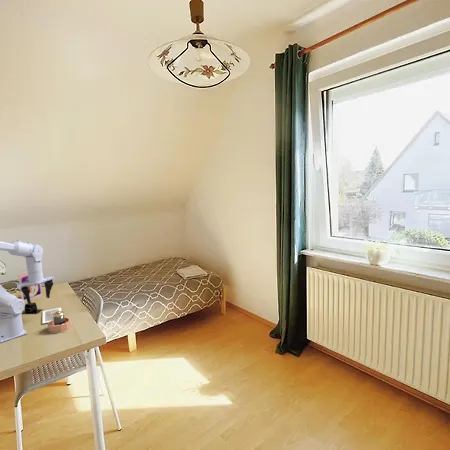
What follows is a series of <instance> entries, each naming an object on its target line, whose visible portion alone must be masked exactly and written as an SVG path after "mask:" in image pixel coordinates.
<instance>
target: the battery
mask: <svg viewBox="0 0 450 450" xmlns="http://www.w3.org/2000/svg"><path fill="white" fill-rule="evenodd" d="M53 317H54V325H61V324H64V323H65V319H64V317H65V311H63V310H61V311H57V312H55V313H54V314H53Z"/></svg>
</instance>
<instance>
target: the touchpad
mask: <svg viewBox="0 0 450 450" xmlns="http://www.w3.org/2000/svg"><path fill="white" fill-rule="evenodd" d="M57 311H62V307H56V308H52V309H47V310H42V324H48V323H49V322H50V321H51V320H53V319H54V317H53V314H54V313H55V312H57Z"/></svg>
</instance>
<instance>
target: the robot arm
mask: <svg viewBox="0 0 450 450" xmlns="http://www.w3.org/2000/svg"><path fill="white" fill-rule="evenodd" d="M0 251H4V252H8V254H9V255H12V256H20V257H22V258H23V257H24V258H25V263H26V270H27V272H28V280H29V281H26V282H23V283H20V284H19V283H17V284H16V288H17V290H21V291H22V292H23V294H24V295H25V297H26V299H27V302H25V303H32V302H31V300H30V296H29V289H28V287H29V286H33V285H37V284H41V285H42V284H44V288H45V297H46V299H49V298H50V296H51V295H50V294H51V291H52V288H53V286H54V282H55V281H56V280H55V276H54V275H50V276H45V277H44V271H43V264H42V263H43V262H42V260H43V254H44V249H43V247H42V246H41V245H39V244H34V243H33V244H32V242H27V241H26V242H22V240H19V239H16V240H13V241H12V242H5V241H0ZM21 291H20V292H21ZM25 303H24V301H23V300H22V299H21V298H18V297H17V296H16V295H13V294H12V293H9V292H8V291H7V290H6V289H5V288H4V287H3V286H2V285H1V284H0V343H4V342H6V341H7V342H8V341H9V340H13V339H15V338H18V337H21V336H24V335H27V334H28V332H27V331H26V330H25V329H24V324H23V317H22V315H23V314H21V313H22V311H24V310H25V308H24V307H25Z"/></svg>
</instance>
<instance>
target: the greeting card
mask: <svg viewBox="0 0 450 450" xmlns="http://www.w3.org/2000/svg"><path fill="white" fill-rule="evenodd" d="M26 281H29V280H28V272H27V269H26V270H25V271H23V272H21V273H20V274H18V282H19V283H18V284H20V283H23V282H26ZM28 289H29V296H30V301H32V300H34V299H38V298H40V297H42V296H44V295H43V293H44V292H43V286H42V284H37V285H33V286H29V287H28ZM19 290H20V289H19ZM20 297H21V298H20V299H22V300H23V301H24V303H28V302H27V299H26V297H25V295H24V294H23V292H22V291H21V290H20Z"/></svg>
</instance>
